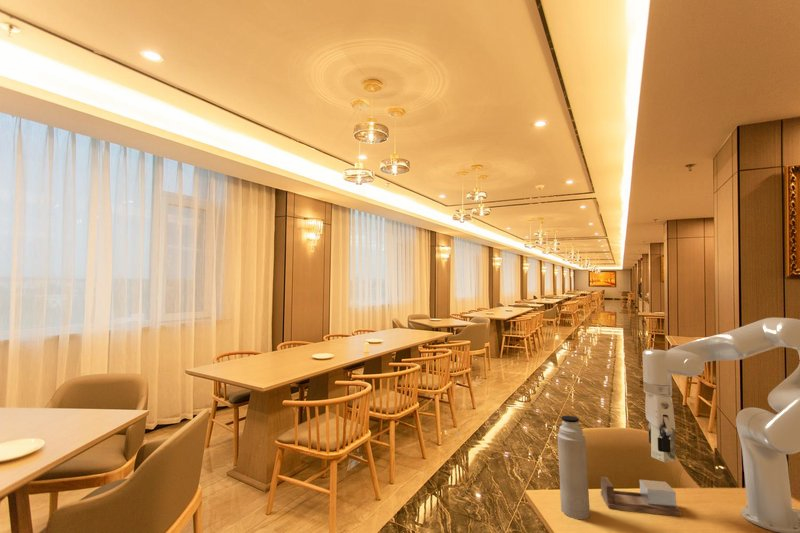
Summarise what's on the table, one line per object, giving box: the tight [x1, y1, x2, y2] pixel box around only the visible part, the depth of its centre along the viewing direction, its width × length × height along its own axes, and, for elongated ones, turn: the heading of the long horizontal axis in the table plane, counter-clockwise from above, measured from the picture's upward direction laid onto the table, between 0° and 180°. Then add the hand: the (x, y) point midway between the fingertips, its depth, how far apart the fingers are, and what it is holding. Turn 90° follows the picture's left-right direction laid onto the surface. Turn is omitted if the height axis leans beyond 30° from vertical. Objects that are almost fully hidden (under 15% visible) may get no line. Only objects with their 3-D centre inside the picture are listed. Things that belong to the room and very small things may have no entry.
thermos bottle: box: [556, 415, 590, 520], centre depth 115 cm, size 8×8×28 cm
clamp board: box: [600, 476, 682, 517], centre depth 117 cm, size 20×8×6 cm, turn 76°
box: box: [650, 423, 676, 463], centre depth 117 cm, size 5×4×13 cm
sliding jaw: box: [639, 479, 678, 508], centre depth 116 cm, size 8×6×5 cm
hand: (659, 447), depth 117 cm, fingers closed on box, 5 cm apart
